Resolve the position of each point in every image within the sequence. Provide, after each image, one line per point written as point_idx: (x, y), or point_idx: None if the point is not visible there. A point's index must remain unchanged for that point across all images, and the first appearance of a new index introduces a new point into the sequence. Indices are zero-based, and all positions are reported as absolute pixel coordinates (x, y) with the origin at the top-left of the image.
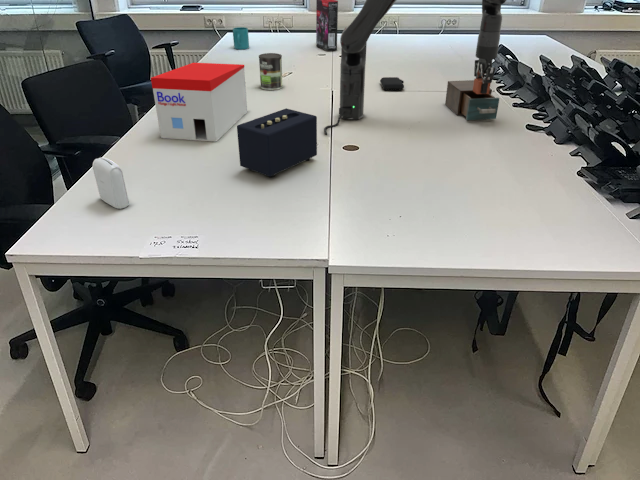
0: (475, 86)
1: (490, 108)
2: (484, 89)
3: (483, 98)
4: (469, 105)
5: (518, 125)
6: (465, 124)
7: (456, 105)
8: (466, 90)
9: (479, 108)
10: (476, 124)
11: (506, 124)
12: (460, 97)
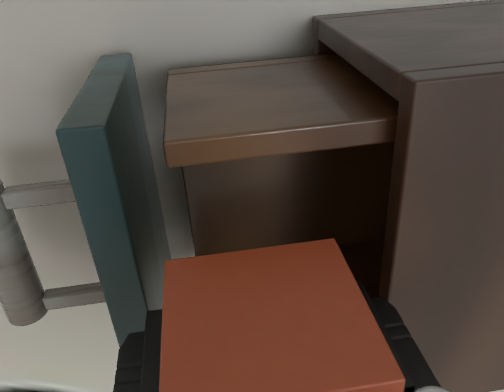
0: (272, 305)
1: (82, 291)
2: (117, 383)
3: (126, 294)
4: (72, 106)
5: (73, 365)
6: (45, 23)
7: (392, 25)
8: (408, 171)
9: (58, 199)
10: (59, 122)
11: (86, 313)
12: (374, 68)
